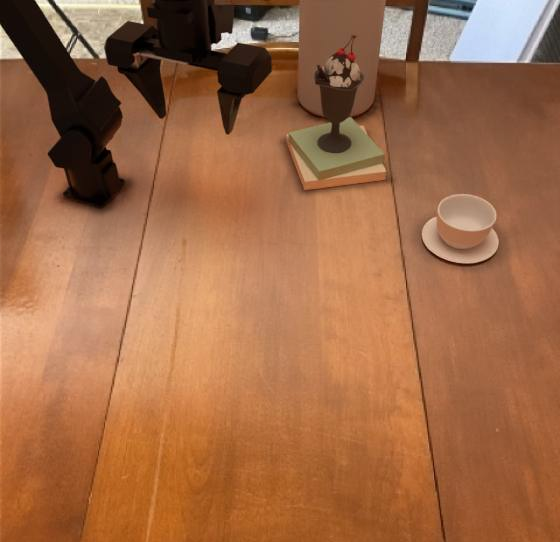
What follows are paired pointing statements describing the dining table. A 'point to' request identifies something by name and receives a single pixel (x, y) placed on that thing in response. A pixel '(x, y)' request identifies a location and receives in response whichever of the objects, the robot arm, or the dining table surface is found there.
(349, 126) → the block stack
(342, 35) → the cylinder vase
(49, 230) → the dining table surface
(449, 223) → the teacup
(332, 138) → the sundae
